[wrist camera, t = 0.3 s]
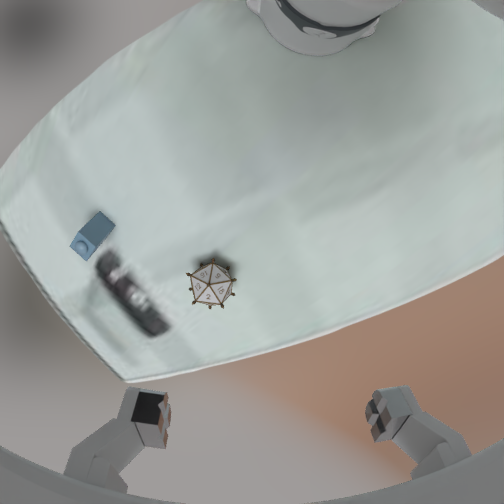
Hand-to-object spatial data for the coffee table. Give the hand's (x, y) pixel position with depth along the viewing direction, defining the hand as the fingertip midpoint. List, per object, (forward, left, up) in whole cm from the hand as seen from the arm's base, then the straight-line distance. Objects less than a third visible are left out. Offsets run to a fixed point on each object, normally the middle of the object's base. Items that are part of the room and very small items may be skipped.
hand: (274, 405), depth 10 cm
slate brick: (+16, -28, -39) cm, 50 cm away
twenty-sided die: (+22, -6, -39) cm, 45 cm away
